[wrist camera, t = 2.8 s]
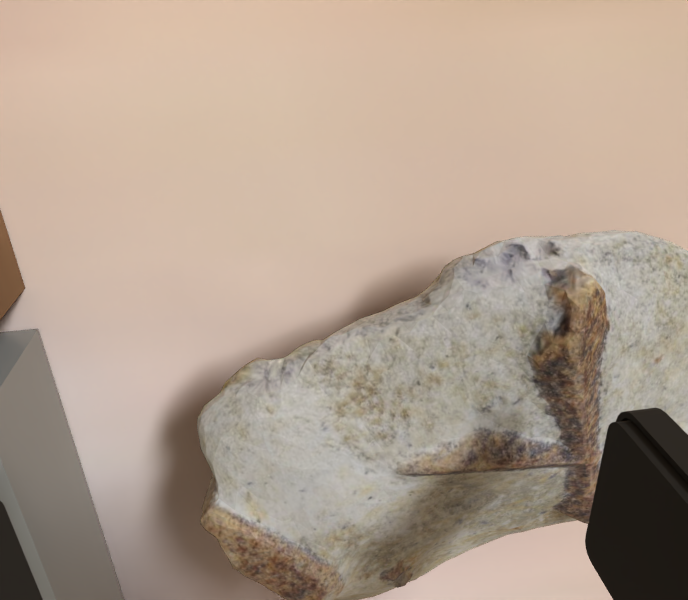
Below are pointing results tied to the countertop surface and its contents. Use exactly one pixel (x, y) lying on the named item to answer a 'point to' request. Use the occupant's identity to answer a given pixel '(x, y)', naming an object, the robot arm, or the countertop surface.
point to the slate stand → (47, 480)
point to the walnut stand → (8, 272)
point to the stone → (445, 414)
